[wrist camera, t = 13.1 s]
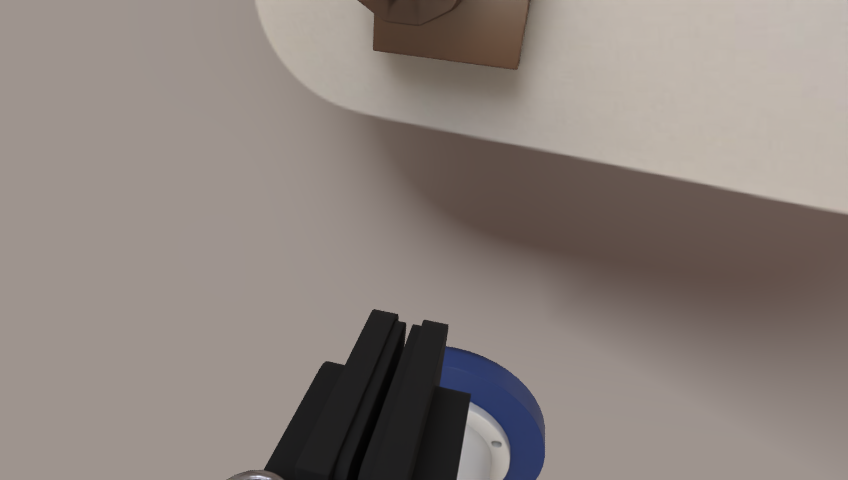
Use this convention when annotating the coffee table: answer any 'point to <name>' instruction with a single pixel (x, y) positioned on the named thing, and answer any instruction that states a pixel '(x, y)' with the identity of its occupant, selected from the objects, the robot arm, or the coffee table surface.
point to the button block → (452, 29)
